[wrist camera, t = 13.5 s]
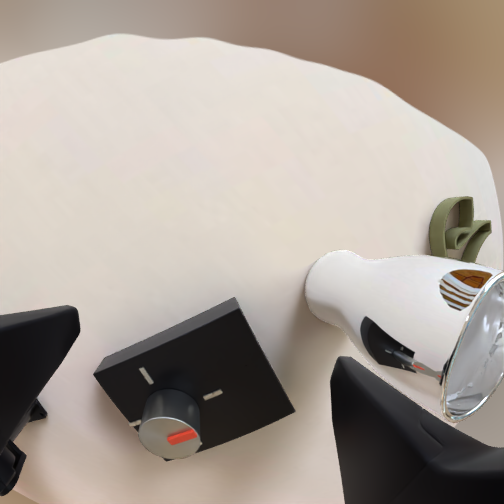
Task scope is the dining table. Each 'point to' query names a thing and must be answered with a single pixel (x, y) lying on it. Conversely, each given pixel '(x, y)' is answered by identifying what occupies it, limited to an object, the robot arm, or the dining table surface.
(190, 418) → the hob knob
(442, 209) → the cookie cutter
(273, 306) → the dining table surface
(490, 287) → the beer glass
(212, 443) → the hob panel
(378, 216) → the dining table surface
